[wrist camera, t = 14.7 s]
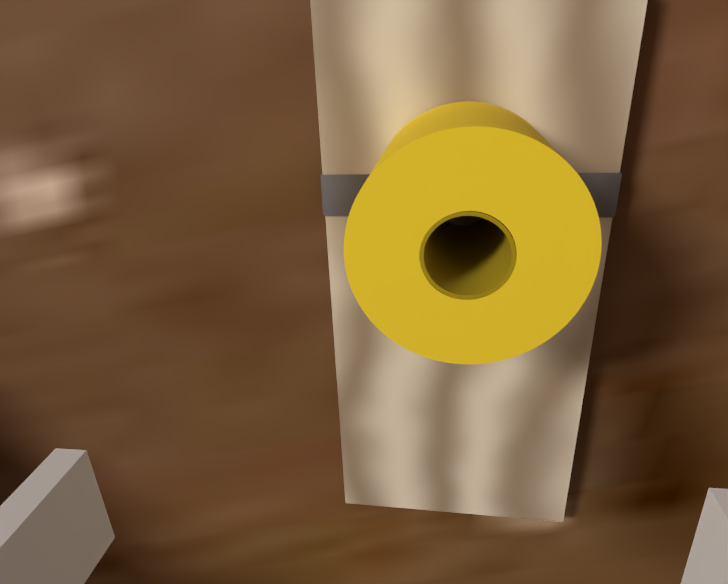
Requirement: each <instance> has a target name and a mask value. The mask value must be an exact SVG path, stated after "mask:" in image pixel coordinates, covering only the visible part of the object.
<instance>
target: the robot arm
mask: <svg viewBox="0 0 728 584" xmlns="http://www.w3.org/2000/svg"><path fill="white" fill-rule="evenodd" d="M114 538H115V535H114V532H113V529H112V526H111V523H110V520H109V517H108V514H107V511H106V508H105V505H104V502H103V499H102V496H101V493H100V490H99V487H98V484H97V481H96V478H95V475H94V472H93V469H92V466H91V463H90V460H89V457H88V454H87V451H86V450H74V449H58V448H56V449H55V450H54V451H53V452H52V453H51V454H50V455H49V456H48V457H47V458H46V459H45V460H44V461H43V462H42V463H41V464H40V465H39V466H38V467H37V468H36V469H35V470H34V471H33V473H32V474H31V475H30V476H29V477H28V478H27V479H26V480H25V481H24V482H23V483H22V484H21V485H20V486H19V487H18V488H17V489H16V490H15V491H14V492H13V493H12V494H11V495H10V496H9V497H8V498H7V500H6V501H5V502H4V503H3V504H2V505H1V506H0V584H84V583H85V582H86V580H87V579H88V577H89V576H90V574H91V573H92V571H93V570H94V568H95V567H96V565H97V564H98V562H99V561H100V559H101V558H102V556H103V555H104V553H105V552H106V550H107V549H108V547H109V546H110V544H111V543H112V541H113V540H114ZM681 584H728V489H720V488H709V489H708V492H707V496H706V499H705V503H704V506H703V509H702V513H701V516H700V520H699V523H698V526H697V530H696V533H695V537H694V540H693V544H692V547H691V550H690V554H689V557H688V561H687V564H686V567H685V571H684V574H683V578H682V581H681Z"/></svg>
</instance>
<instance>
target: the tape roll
mask: <svg viewBox="0 0 728 584" xmlns="http://www.w3.org/2000/svg"><path fill="white" fill-rule="evenodd" d="M459 216H477V217H481V218H482V219H481V220H479V221H478V222H476V223H473V224H470V225H454V224H451V223H449V222H447V220H449V219H452V218H455V217H459ZM601 246H602V239H601V227H600V221H599V216H598V213H597V209H596V206H595V203H594V201H593V199H592V196H591V194H590V192H589V190H588V188H587V187H586V185H585V183H584V182H583V180H582V179H581V177H580V176H579V175H578V174H577V172H576V171H575V170H574V169H573V168H572V167H571V165H570V164H569V163H568V162H567V161H566V160H565V159H564V158H563V157H562V156H561V155H560V154H559V153H558V152H557V151H556V150H555V149H554V148H553V147H552V146H551V145H550V144H549V143H548V142H547V141H546V140H545V139H544V138H543V137H542V136H541V135H540V134H539V133H538V132H537V131H536V130H535V129H534V128H533V127H532V126H531V125H530V124H529V123H528V122H526V121H525V120H524V119H522V118H521V117H520V116H518V115H517V114H515V113H513V112H511V111H509V110H507V109H505V108H502V107H500V106H497V105H493V104H489V103H484V102H475V101H463V102H454V103H449V104H445V105H441V106H438V107H435V108H433V109H430V110H428V111H426V112H424V113H422V114H420V115H419V116H417V117H416V118H414V119H413V120H411V121H410V122H409V123H408V124H406V125H405V126H404V127H403V128H402V129H401V130H400V131H399V132H398V133H397V134H396V135H395V137H394V138H393V139H392V140H391V142H390V143H389V145H388V146H387V148H386V149H385V151H384V153H383V154H382V156H381V157H380V159H379V161H378V162H377V164H376V165H375V167H374V169H373V170H372V172H371V173H370V175H369V177H368V178H367V180H366V181H365V183H364V185H363V186H362V188H361V189H360V191H359V193H358V195H357V197H356V199H355V201H354V203H353V205H352V208H351V210H350V213H349V216H348V220H347V224H346V229H345V235H344V262H345V269H346V273H347V277H348V281H349V284H350V287H351V289H352V292H353V294H354V296H355V298H356V300H357V302H358V304H359V305H360V307H361V309H362V310H363V312H364V313H365V314H366V316H367V317H368V318H369V319H370V321H371V322H372V323H373V324H374V325H375V326H376V327H377V328H378V329H379V330H380V331H381V332H382V333H383V334H384V335H386V336H387V337H388V338H390V339H391V340H392V341H394V342H395V343H397V344H398V345H400V346H402V347H403V348H405V349H407V350H409V351H411V352H413V353H415V354H418V355H420V356H423V357H426V358H429V359H433V360H436V361H441V362H446V363H453V364H485V363H492V362H497V361H502V360H506V359H509V358H513V357H515V356H518V355H521V354H523V353H526V352H528V351H530V350H532V349H534V348H536V347H538V346H539V345H541V344H543V343H544V342H546V341H547V340H549V339H550V338H551V337H553V336H554V335H555V334H557V333H558V332H559V331H560V330H561V329H562V328H563V327H565V326H566V325H567V324H568V322H569V321H570V320H571V319H572V318H573V317H574V316H575V314H576V313H577V312H578V311H579V309H580V308H581V306H582V305H583V303H584V302H585V300H586V298H587V296H588V295H589V293H590V291H591V288H592V286H593V284H594V281H595V278H596V275H597V272H598V268H599V263H600V257H601Z"/></svg>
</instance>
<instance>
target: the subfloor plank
mask: <svg viewBox="0 0 728 584" xmlns="http://www.w3.org/2000/svg"><path fill="white" fill-rule="evenodd" d="M647 1H648V0H310V3H311V17H312V31H313V45H314V60H315V74H316V88H317V103H318V117H319V131H320V145H321V160H322V174H321V175H320V176H321V190H322V203H323V216H325V217H326V231H327V245H328V259H329V274H330V288H331V302H332V317H333V331H334V345H335V359H336V374H337V388H338V402H339V416H340V431H341V445H342V459H343V473H344V488H345V502H346V503H352V504H364V505H375V506H386V507H398V508H409V509H421V510H432V511H444V512H455V513H466V514H478V515H489V516H501V517H512V518H523V519H535V520H546V521H558V522H563V520H564V513H565V507H566V501H567V495H568V489H569V483H570V476H571V470H572V464H573V458H574V452H575V446H576V439H577V433H578V427H579V421H580V415H581V409H582V402H583V396H584V390H585V384H586V378H587V372H588V365H589V359H590V353H591V347H592V341H593V335H594V328H595V322H596V316H597V310H598V304H599V297H600V291H601V285H602V279H603V273H604V267H605V260H606V254H607V248H608V242H609V236H610V230H611V223H612V218H615V214H616V208H617V202H618V196H619V190H620V184H621V178H622V173H621V172H620V168H621V162H622V156H623V149H624V143H625V137H626V131H627V125H628V119H629V112H630V106H631V100H632V94H633V88H634V81H635V75H636V69H637V63H638V57H639V51H640V44H641V38H642V32H643V26H644V20H645V14H646V7H647ZM463 101H475V102H484V103H489V104H493V105H497V106H500V107H502V108H505V109H507V110H509V111H511V112H513V113H515V114H517V115H518V116H520V117H521V118H522V119H524V120H525V121H526V122H528V123H529V124H530V125H531V126H532V127H533V128H534V129H535V130H536V131H537V132H538V133H539V134H540V135H541V136H542V137H543V138H544V139H545V140H546V141H547V142H548V143H549V144H550V145H551V146H552V147H553V148H554V149H555V150H556V151H557V152H558V153H559V154H560V155H561V156H562V157H563V158H564V159H565V160H566V161H567V162H568V163H569V164H570V165H571V167H572V168H573V169H574V170H575V171H576V172H577V174H578V175H579V176H580V177H581V179H582V180H583V182H584V183H585V185H586V187H587V188H588V190H589V192H590V194H591V196H592V199H593V201H594V203H595V206H596V209H597V213H598V216H599V221H600V227H601V239H602V246H601V257H600V263H599V268H598V272H597V275H596V278H595V281H594V284H593V286H592V288H591V291H590V293H589V295H588V296H587V298H586V300H585V302H584V303H583V305H582V306H581V308H580V309H579V311H578V312H577V313H576V314H575V316H574V317H573V318H572V319H571V320H570V321H569V322H568V324H567V325H566V326H565V327H563V328H562V329H561V330H560V331H559V332H558V333H557V334H555V335H554V336H553V337H551V338H550V339H549V340H547V341H546V342H544V343H543V344H541V345H539V346H538V347H536V348H534V349H532V350H530V351H528V352H526V353H523V354H521V355H518V356H515V357H513V358H509V359H506V360H502V361H497V362H492V363H485V364H453V363H446V362H441V361H436V360H433V359H429V358H426V357H423V356H420V355H418V354H415V353H413V352H411V351H409V350H407V349H405V348H403V347H402V346H400V345H398V344H397V343H395V342H394V341H392V340H391V339H390V338H388V337H387V336H386V335H384V334H383V333H382V332H381V331H380V330H379V329H378V328H377V327H376V326H375V325H374V324H373V323H372V322H371V321H370V319H369V318H368V317H367V316H366V314H365V313H364V312H363V310H362V309H361V307H360V305H359V304H358V302H357V300H356V298H355V296H354V294H353V292H352V289H351V287H350V284H349V281H348V277H347V273H346V269H345V262H344V235H345V229H346V224H347V220H348V216H349V213H350V210H351V208H352V205H353V203H354V201H355V199H356V197H357V195H358V193H359V191H360V189H361V188H362V186H363V185H364V183H365V181H366V180H367V178H368V177H369V175H370V173H371V172H372V170H373V169H374V167H375V165H376V164H377V162H378V161H379V159H380V157H381V156H382V154H383V153H384V151H385V149H386V148H387V146H388V145H389V143H390V142H391V140H392V139H393V138H394V137H395V135H396V134H397V133H398V132H399V131H400V130H401V129H402V128H403V127H404V126H405V125H406V124H408V123H409V122H410V121H411V120H413V119H414V118H416V117H417V116H419V115H420V114H422V113H424V112H426V111H428V110H430V109H433V108H435V107H438V106H441V105H445V104H449V103H454V102H463ZM481 219H482V218H481V217H477V216H459V217H455V218H452V219H449V220H447V222H449V223H451V224H454V225H470V224H473V223H476V222H478V221H479V220H481Z"/></svg>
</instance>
